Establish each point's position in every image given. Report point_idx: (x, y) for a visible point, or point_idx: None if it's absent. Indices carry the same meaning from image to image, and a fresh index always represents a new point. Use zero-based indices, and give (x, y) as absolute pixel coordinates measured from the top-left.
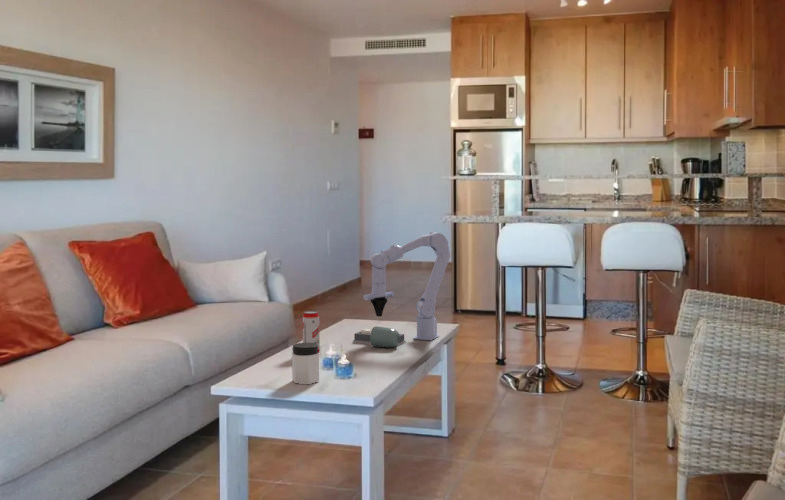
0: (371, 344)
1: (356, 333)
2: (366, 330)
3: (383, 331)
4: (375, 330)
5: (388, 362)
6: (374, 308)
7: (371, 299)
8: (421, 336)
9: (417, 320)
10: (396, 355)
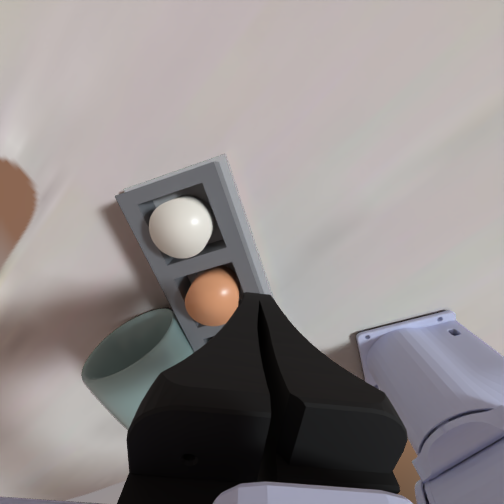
0: (120, 328)
1: (127, 200)
2: (174, 240)
3: (118, 421)
4: (93, 394)
5: (50, 459)
6: (225, 325)
7: (130, 440)
8: (369, 368)
9: (420, 412)
10: (121, 431)
